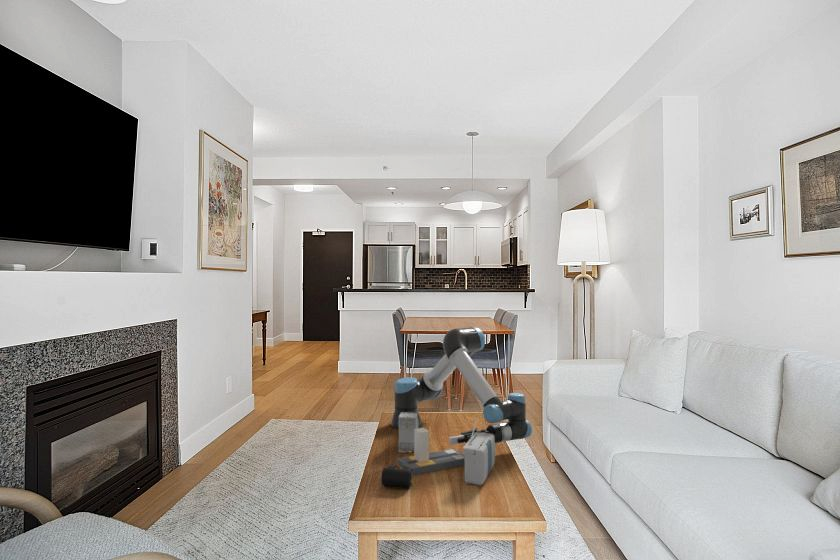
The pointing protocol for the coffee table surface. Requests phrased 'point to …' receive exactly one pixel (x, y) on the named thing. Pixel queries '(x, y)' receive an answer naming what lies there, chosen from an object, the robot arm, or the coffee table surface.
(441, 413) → the coffee table surface
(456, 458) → the grey flat board
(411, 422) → the circuit breaker
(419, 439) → the slider tab
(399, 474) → the end cap
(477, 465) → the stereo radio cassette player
